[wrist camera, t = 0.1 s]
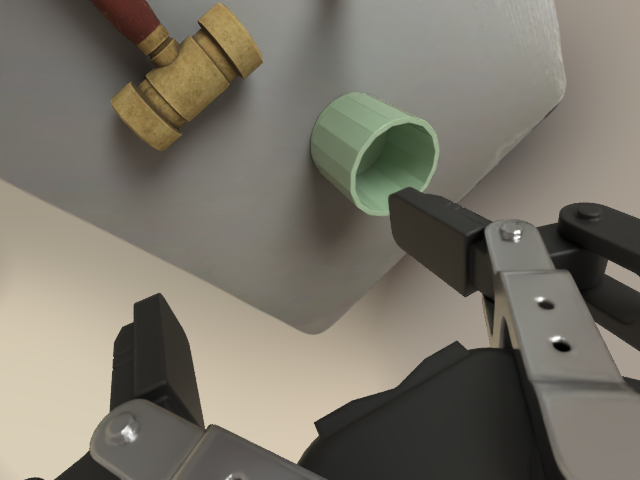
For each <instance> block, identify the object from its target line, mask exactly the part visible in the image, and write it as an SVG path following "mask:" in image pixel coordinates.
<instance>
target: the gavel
mask: <svg viewBox="0 0 640 480" xmlns="http://www.w3.org/2000/svg"><path fill="white" fill-rule="evenodd" d="M90 1H91V2H92V3H93V4H94V5H95V6H96V7H97V8H98V10H99V11H100V12H101V13H102V14H103V15H104V16H105V17H106V18H107V19H108V20H109V21H110V22H111V23H112V25H113V26H114V27H115V28H116V29H117V30H118V31H120V32H121V33H122V34H123V35H124V36H126V37H127V38H128V39H129V40H131V41H132V42H133V43H134V44H135V45H137V47H138V48H139V49H140V50H141V51H142V52H143V53H144V54H145V55H149V56H150V59H149V60H150V61H151V62H152V63H153V64H154V65H155V67H154V68H153V69H152V70H151V71H150V72H149V73H148V74H146V77H147V78H146V79H145V80H144V81H143V82H142V83H141V84H139V85H138V86H137V85H136V84H134V83H133V82H129V83H128V84H127V85H126V86H125V87H124V88H123V89H122V90H121V91H120V92H118V93H117V94H116V95H115V96H114V97H113V98H112V99H111V104H112V107H113V109H114V110H115V112H116V113H117V115H118V116H119V117H120V118H121V119H122V121H123V122H124V123H125V124H126V125H127V126H128V127H129V128H130V129H131V130H132V131H133V132H134V133H135V134H136V135H138V136H139V137H140V138H141V139H142V140H143V141H145V142H146V143H147V144H149V145H150V146H151V147H153V148H155V149H157V150H161V151H164V150H166V149H167V148H168V147H169V146H170V145H171V144H172V143H173V142H175V141H176V140H177V139H178V138H179V137H180V136H181V135H182V133H181V131H180V130H179V128H180V127H181V126H182V125H183V124H184V123H185V122H186V121H189V122H190V121H191V120H192V119H193V118H194V117H196V116H197V115H198V114H199V113H200V112H201V111H202V110H203V109H204V108H206V107H207V106H208V105H209V104H210V103H211V102H212V101H213V100H215V99H216V98H217V97H218V96H219V95H220V94H221V93H222V92H223V91H225V90H226V89H227V88H228V87H229V86H230V84H229V83H230V82H231V81H232V80H233V79H234V78H236V77H237V76H238V75H239V76H240V77H241V78H243V79H245V78H246V77H247V76H248V75H250V74H251V73H252V72H253V71H254V70H255V69H256V68H257V67H259V66H260V65H261V64H262V63H263V62H262V55H261V53H260V51H259V49H258V47H257V46H256V44H255V42H254V41H253V39H252V38H251V36H250V35H249V33H248V32H247V31H246V29H245V28H244V27H243V25H242V24H241V23H240V22H239V20H238V19H237V18H236V17H235V15H234V14H233V13H232V12H231V11H230V10H229V9H228V8H227V7H226V6H224V5H223V4H220V3H217V4H215V5H214V6H213V7H212V8H211V9H210V10H209V11H208V12H207V13H206V14H204V15H203V16H202V17H201V18H200V19H199V20H198V23H199V25H200V27H201V29H200V30H199V31H198V32H197V33H196V34H195V35H194V36H192V37H190V36H188V37H187V38H186V39H185V40H184V41H183V42H182V43H181V44H180V45H179V44H178V43H177V41H176V40H175V39H174V38H170V37H169V32H168V31H167V30H166V29H165V28H164V27H163V25H162V24H161V23H160V21H159V20H158V18H157V17H156V15H155V14H154V12H153V10H152V9H151V7H150V6H149V4H148V3H147V1H146V0H90Z"/></svg>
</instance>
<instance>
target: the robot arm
mask: <svg viewBox="0 0 640 480" xmlns="http://www.w3.org/2000/svg"><path fill="white" fill-rule="evenodd" d="M388 205H389V213H390V221H391V229H392V234H393V237H394V240H395V241H396V243H397V244H398V246H399V247H400V248H401V249H403V250H404V251H405V252H407V253H408V254H409V255H411V256H412V257H413V258H415V259H416V260H417V261H418V262H420V263H421V264H422V265H424V266H425V267H426V268H428V269H429V270H430V271H432V272H433V273H434V274H436V275H437V276H438V277H439V278H441V279H442V280H443V281H444V282H446V283H447V284H448V285H450V286H451V287H452V288H454V289H455V290H456V291H458V292H459V293H460V294H462V295H463V296H464V297H467V296H469V295H470V294H472V293H474V292H476V291H480V292H481V293H482V305H483V310H484V315H485V321H486V326H487V331H488V337H489V342H490V347H489V348H477V349H471V350H467V349H466V348H464V346H462V345H461V344H460V343H459V342H458V341H455V342H454V343H452V344H450V345H448V346H447V347H445V348H443V349H441V350H440V351H438V352H436V353H434V354H433V355H431V356H429V357H427V358H426V359H424V360H423V361H422V362H421V363H420V364H419V365H418V366H417V367H416V368H415V369H414V370H413V371H412V372H411V373H410V374H409V375H408V376H407V378H406V379H405V380H403V381H402V383H401V384H400V385H398V386H397V387H396V388H394V389H391V390H387V391H384V392H380V393H377V394H374V395H370V396H367V397H363V398H360V399H356V400H353V401H351V402H349V403H347V404H345V405H344V406H342V407H340V408H338V409H337V410H335V411H333V412H331V413H330V414H328V415H326V416H324V417H323V418H321V419H319V420H318V421H316V422H314V424H315V427H316V429H317V432H318V434H319V436H318V437H317V438H316V439H315V440H314V441H313V442H312V443H311V445H310V446H309V447H308V448H307V449H306V451H305V452H304V453H303V455H302V457H301V458H300V460H299V461H298V463H297V464H295V463H293V462H291V461H289V460H287V459H285V458H283V457H281V456H279V455H277V454H275V453H273V452H271V451H269V450H266V449H264V448H262V447H260V446H258V445H256V444H254V443H252V442H250V441H248V440H246V439H244V438H242V437H240V436H238V435H236V434H234V433H232V432H230V431H228V430H226V429H224V428H222V427H220V426H217V425H213V424H210V425H209V426H208V427H207V429H205V426H204V420H203V415H202V409H201V404H200V399H199V393H198V388H197V383H196V377H195V372H194V366H193V361H192V356H191V351H190V345H189V342H188V339H187V337H186V334H185V332H184V330H183V328H182V326H181V325H180V323H179V321H178V320H177V318H176V316H175V315H174V313H173V312H172V310H171V308H170V307H169V305H168V303H167V302H166V300H165V298H164V297H163V295H162V294H161V293H157V294H155V295H153V296H151V297H148V298H146V299H143V300H141V301H139V302H136V303H135V304H134V322H133V323H130V324H128V325H126V326H124V327H122V329H121V331H120V332H119V334H118V336H117V338H116V340H115V342H114V352H113V357H114V359H113V371H112V385H111V399H110V413H109V414H108V415H107V416H105V418H104V419H103V420H102V421H101V422H100V423H99V425H98V427H97V428H96V429H95V431H94V433H93V435H92V438H91V441H90V448H89V449H90V450H89V451H88V452H87V453H86V454H85V455H84V456H83V457H82V458H81V459H80V460H79V461H77V462H76V463H75V464H73V465H72V466H71V467H69V468H68V469H67V470H66V471H64V472H63V473H62V474H61V475H60V476H58V477H57V478H56V479H54V480H640V380H636V379H631V378H628V377H624V376H621V374H620V372H619V370H618V368H617V366H616V364H615V362H614V360H613V358H612V356H611V354H610V352H609V350H608V348H607V346H606V344H605V342H604V340H603V338H602V336H601V334H600V332H599V330H598V328H597V326H596V324H595V322H596V323H598V324H599V325H601V326H602V327H604V328H605V329H607V330H608V331H610V332H611V333H613V334H614V335H616V336H617V337H619V338H620V339H622V340H623V341H625V342H626V343H628V344H629V345H631V346H632V347H634V348H636V349H637V350H639V351H640V293H639V292H638V291H636V290H634V289H632V288H630V287H628V286H626V285H625V284H623V283H621V282H619V281H617V280H615V279H613V278H612V277H610V276H608V275H606V274H604V273H605V269H606V266H607V262H608V260H610V261H612V262H614V263H616V264H618V265H620V266H622V267H624V268H626V269H628V270H630V271H632V272H634V273H636V274H637V275H638V276H639V277H640V219H638V218H636V217H633V216H631V215H628V214H625V213H623V212H620V211H618V210H615V209H612V208H610V207H607V206H604V205H600V204H596V203H574V204H570V205H567V206H565V207H564V208H562V209H561V211H560V214H559V219H558V223H554V224H549V225H545V226H540V227H535V226H533V225H532V224H530V223H528V222H525V221H522V220H516V219H503V220H498V221H495V222H492V221H490V220H487V219H486V218H484V217H482V216H480V215H478V214H476V213H474V212H472V211H470V210H468V209H466V208H462V207H461V206H460V205H458V204H456V203H454V204H453V202H452V201H450V200H448V199H446V198H444V197H442V196H437V195H432V194H424V193H422V192H420V191H418V190H416V189H414V188H412V187H406V188H404V189H401V190H399V191H397V192H394V193H392V194H390V195H389V197H388ZM594 321H595V322H594ZM25 480H44V479H41V478H36V477H34V478H28V479H25Z"/></svg>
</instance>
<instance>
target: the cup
mask: <svg viewBox="0 0 640 480" xmlns="http://www.w3.org/2000/svg"><path fill="white" fill-rule="evenodd" d="M439 150H440V149H439V143H438V138H437V133H436V132H435V131H434V129H433V128H432V127H431V126H430V125H429V123H428V122H427V121H426V120H424V119H421V118H419V117H417V116H415V115H413V114H411V113H409V112H407V111H405V110H403V109H401V108H399V107H396V106H394V105H392V104H390V103H388V102H386V101H384V100H382V99H380V98H378V97H375V96H372V95H369V94H367V93H362V92H355V93H349V94H346V95H343V96H341V97H339V98H337V99H336V100H334V101H333V102H332V103H330V104H329V105H328V106H327V107H326V108H325V109H324V111H323V112H322V113H321V115H320V116H319V118H318V119H317V121H316V123H315V126H314V128H313V131H312V135H311V155H312V159H313V161H314V164H315V165H316V167H317V168H318V169H319V171H320V172H321V174H323V175H324V176H325V177H326V178H327V179H328V180H329V181H330V182H331V183H332V184H333V185H334V186H335V187H336V188H337V189H338V190H339V191H341V192H342V193H343V194H344V195H345V196H346V197H347V198H348V199H349V200H350V201H351V202H352V203H353V204H354V205H355V206H356V207H358V208H359V209H360V210H362V211H363V212H365V213H366V214H368V215H373V216H387V215H390V213H389V205H388V197H389V195H390V194H392V193H394V192H397V191H399V190H401V189H404V188H406V187H412V188H414V189H416V190H418V191H420V192H423V191H424V189H425V188H426V187H427V186H428V184H429V182H430V180H431V178H432V176H433V174H434V172H435V170H436V167H437V162H438V156H439Z"/></svg>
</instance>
